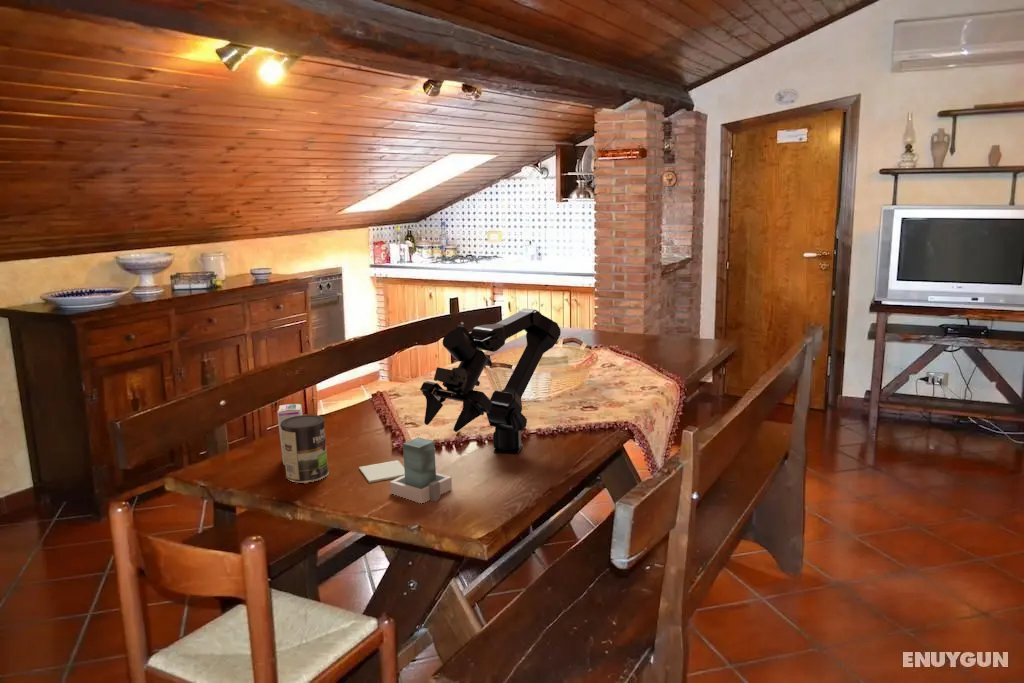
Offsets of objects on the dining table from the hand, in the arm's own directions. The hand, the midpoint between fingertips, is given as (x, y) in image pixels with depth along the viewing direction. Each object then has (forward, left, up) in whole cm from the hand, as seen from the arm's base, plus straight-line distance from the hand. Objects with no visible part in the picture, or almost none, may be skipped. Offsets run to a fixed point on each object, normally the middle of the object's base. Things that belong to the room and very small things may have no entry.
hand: (440, 427), depth 185 cm
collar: (+3, +7, -13) cm, 15 cm away
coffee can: (+34, +2, -14) cm, 37 cm away
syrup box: (+42, -7, -14) cm, 45 cm away
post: (+3, +7, -13) cm, 15 cm away
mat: (+16, -3, -13) cm, 21 cm away
